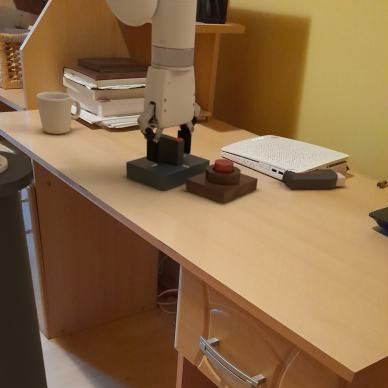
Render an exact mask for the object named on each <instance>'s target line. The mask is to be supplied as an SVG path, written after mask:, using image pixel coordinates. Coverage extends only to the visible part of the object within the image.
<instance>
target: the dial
mask: <svg viewBox="0 0 388 388" xmlns="http://www.w3.org/2000/svg"><path fill="white" fill-rule="evenodd" d="M159 141H160V142H161V160H163V161H166V162H169V163H172V164H175V165H180V164H183V157H184V140H183V139H182V138H177V137H175V136H172V135H169V134H165V133H162V134H161V136H160V138H159Z"/></svg>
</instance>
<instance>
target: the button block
mask: <svg viewBox="0 0 388 388" xmlns="http://www.w3.org/2000/svg"><path fill="white" fill-rule="evenodd" d="M214 164H215V163H214ZM214 164H213V163H212V164H210V166H207V168H206V172H205V173H202V174H200V175H197V176H194V177H191V178H188V179H186V183H185V191H186V192H189V193H191V194H194V195H197V196H199V197H203V198H205V199H208V200H211V201H214V202H216V203H219V204H222V205H224V204H227V203H229V202H231V201H234V200H236V199H238V198H241V197H243V196H245V195H247V194H249V193H252V192H254V191H257V188H258V181H259V179H258V178H257V177H255V176H250V175H248V174H245V173H242V170H241V169H240V168H239V167H238V166H235V165H233V172H232V173H218V172H215V171H214Z"/></svg>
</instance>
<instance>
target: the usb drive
mask: <svg viewBox="0 0 388 388" xmlns="http://www.w3.org/2000/svg"><path fill="white" fill-rule="evenodd" d="M288 170H289V169H287V170H285V171H284V172H283V173H282V178H281V181H282V182H283V183H284V184H285V186H286V187H287V188H288V189H289V190H290V191H308V190H309V191H311V190H313V191H314V190H315V191H316V190H317V191H318V190H334V189H336V187H345V183H346V179H347V177H346V176H344V175H343V174H342V173H341V172H339V171H337V172H336V171H334V169H332V168H326V169H325V168H324V169H318V170H313V169H312V170H313V171H309V172H305V173H295V172H292V171H288Z"/></svg>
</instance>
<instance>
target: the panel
mask: <svg viewBox="0 0 388 388" xmlns="http://www.w3.org/2000/svg"><path fill="white" fill-rule="evenodd" d="M210 165H211V160H210V159H207V158H204V157H201V156H198V155H194V154H191V153H190V154H186V153H184V157H183V164H180V165H175V164H172V163H169V162H166V161H163V160H161V162H160V163H155V162H152V161H149V160H147V155H146V156H143V157H139V158H135V159H131V160H129V161H126V162H125V170H126V173H125V174H126V178H128V179H131V180H133V181H136V182H139V183H141V184H144V185H147V186H149V187H152V188H155V189H157V190H160V191H163V192H165V191H168V190H171V189H173V188H176V187H178V186H179V187H180V186H181V185H186V179H188V178H191V177H194V176H197V175H200V174H202V173H205V172H206V168H207V166H210Z"/></svg>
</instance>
